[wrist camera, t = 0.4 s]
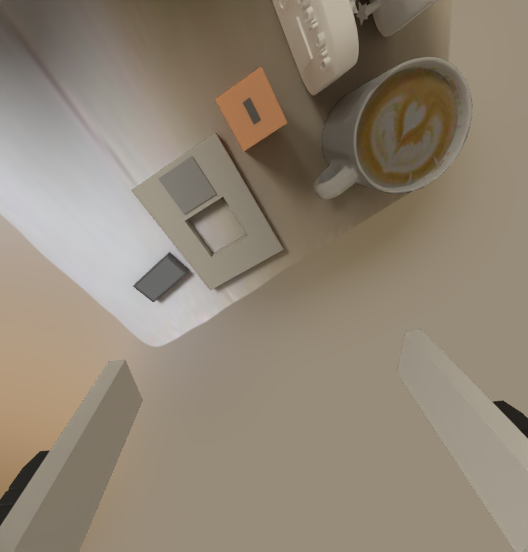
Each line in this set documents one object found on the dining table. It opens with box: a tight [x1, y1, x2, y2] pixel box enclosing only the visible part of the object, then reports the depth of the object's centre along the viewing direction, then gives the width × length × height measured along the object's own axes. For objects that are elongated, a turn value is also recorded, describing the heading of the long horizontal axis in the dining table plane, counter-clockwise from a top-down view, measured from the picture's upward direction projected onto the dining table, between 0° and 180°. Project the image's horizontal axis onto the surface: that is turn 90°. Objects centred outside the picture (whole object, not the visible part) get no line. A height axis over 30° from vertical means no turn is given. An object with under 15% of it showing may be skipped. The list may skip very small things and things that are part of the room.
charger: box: [215, 66, 287, 151], centre depth 25 cm, size 4×4×9 cm
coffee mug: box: [313, 57, 472, 200], centre depth 26 cm, size 13×10×10 cm
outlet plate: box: [131, 133, 283, 290], centre depth 33 cm, size 16×12×1 cm
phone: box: [133, 252, 189, 302], centre depth 36 cm, size 4×7×1 cm, turn 130°
